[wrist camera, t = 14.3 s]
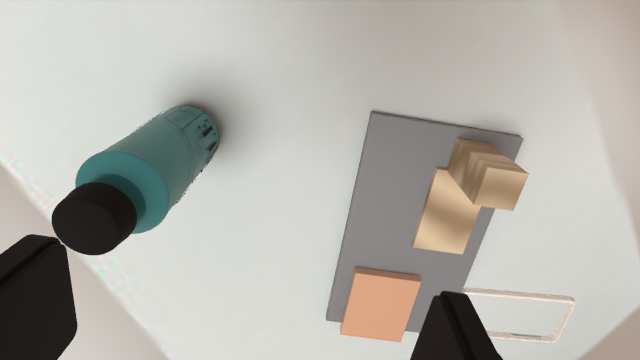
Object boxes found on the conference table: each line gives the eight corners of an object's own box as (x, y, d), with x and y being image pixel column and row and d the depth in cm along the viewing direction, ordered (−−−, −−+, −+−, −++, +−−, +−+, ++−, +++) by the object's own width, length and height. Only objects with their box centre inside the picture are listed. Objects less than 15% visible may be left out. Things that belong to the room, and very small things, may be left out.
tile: (355, 273, 44) (340, 334, 48) (421, 282, 44) (400, 342, 48) (354, 266, 45) (340, 326, 49) (418, 275, 45) (398, 334, 49)
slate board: (370, 111, 38) (372, 113, 37) (518, 135, 39) (523, 138, 38) (326, 314, 49) (326, 320, 48) (441, 329, 50) (443, 335, 49)
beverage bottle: (150, 119, 38) (-6, 211, 20) (201, 87, 37) (83, 156, 19) (189, 169, 41) (79, 293, 23) (238, 141, 39) (164, 249, 21)
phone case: (570, 294, 48) (458, 284, 48) (577, 301, 47) (462, 291, 46) (551, 335, 51) (445, 326, 51) (556, 343, 50) (448, 334, 49)
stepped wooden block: (445, 136, 38) (474, 165, 31) (500, 145, 38) (542, 175, 31) (411, 244, 43) (429, 290, 36) (460, 251, 44) (487, 298, 36)
